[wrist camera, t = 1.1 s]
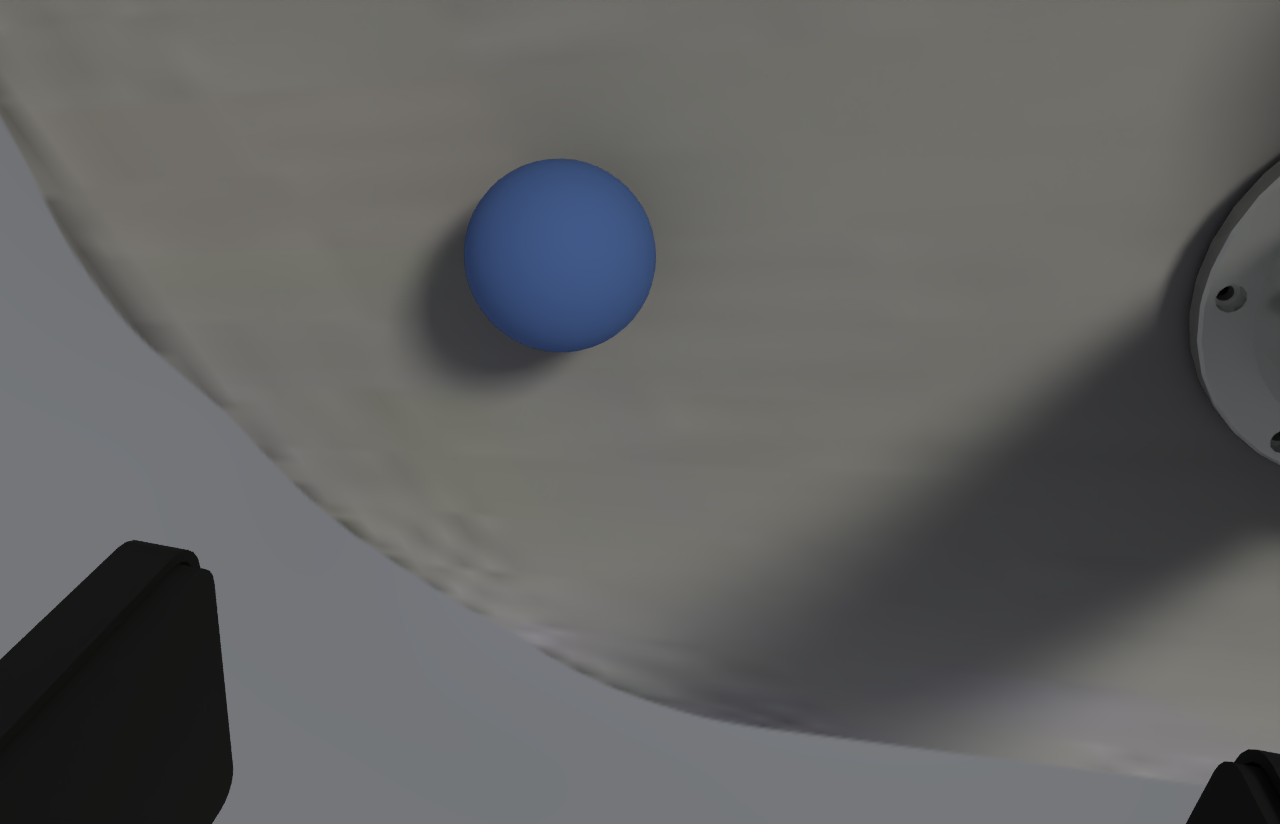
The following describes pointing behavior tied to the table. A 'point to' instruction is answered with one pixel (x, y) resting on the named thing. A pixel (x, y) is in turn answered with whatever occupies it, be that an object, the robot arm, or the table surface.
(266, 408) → the table surface
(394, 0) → the table surface
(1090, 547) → the table surface
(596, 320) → the ball
